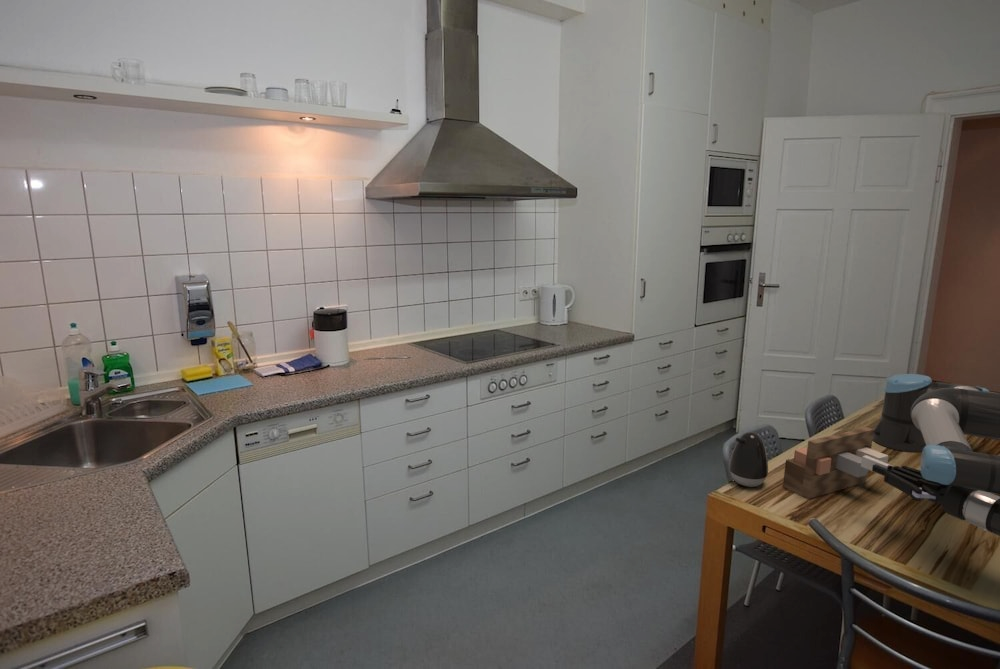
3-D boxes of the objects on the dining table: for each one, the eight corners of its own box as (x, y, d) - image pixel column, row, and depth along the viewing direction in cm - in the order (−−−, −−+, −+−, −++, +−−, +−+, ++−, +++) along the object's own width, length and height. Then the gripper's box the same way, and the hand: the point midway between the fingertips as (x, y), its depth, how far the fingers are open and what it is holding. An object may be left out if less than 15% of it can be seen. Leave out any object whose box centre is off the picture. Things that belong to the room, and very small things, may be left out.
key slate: (839, 462, 159) (841, 449, 158) (867, 474, 151) (869, 460, 151) (829, 465, 157) (831, 452, 156) (857, 477, 150) (859, 463, 149)
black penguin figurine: (719, 478, 165) (723, 428, 162) (747, 472, 168) (752, 424, 165) (745, 494, 155) (750, 442, 152) (774, 487, 159) (780, 436, 156)
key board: (839, 470, 169) (846, 420, 166) (866, 482, 162) (873, 429, 159) (782, 486, 160) (788, 433, 156) (808, 499, 153) (815, 443, 149)
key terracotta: (803, 460, 160) (804, 447, 159) (829, 472, 153) (831, 458, 152) (793, 463, 158) (794, 450, 157) (819, 475, 151) (821, 461, 150)
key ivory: (858, 457, 162) (859, 444, 161) (886, 469, 155) (888, 455, 154) (848, 460, 160) (850, 447, 159) (877, 472, 153) (879, 458, 152)
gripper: (951, 528, 119) (844, 479, 140) (986, 514, 124) (878, 469, 145) (957, 495, 117) (848, 451, 138) (992, 482, 122) (882, 442, 143)
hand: (863, 460), depth 141 cm, fingers closed
